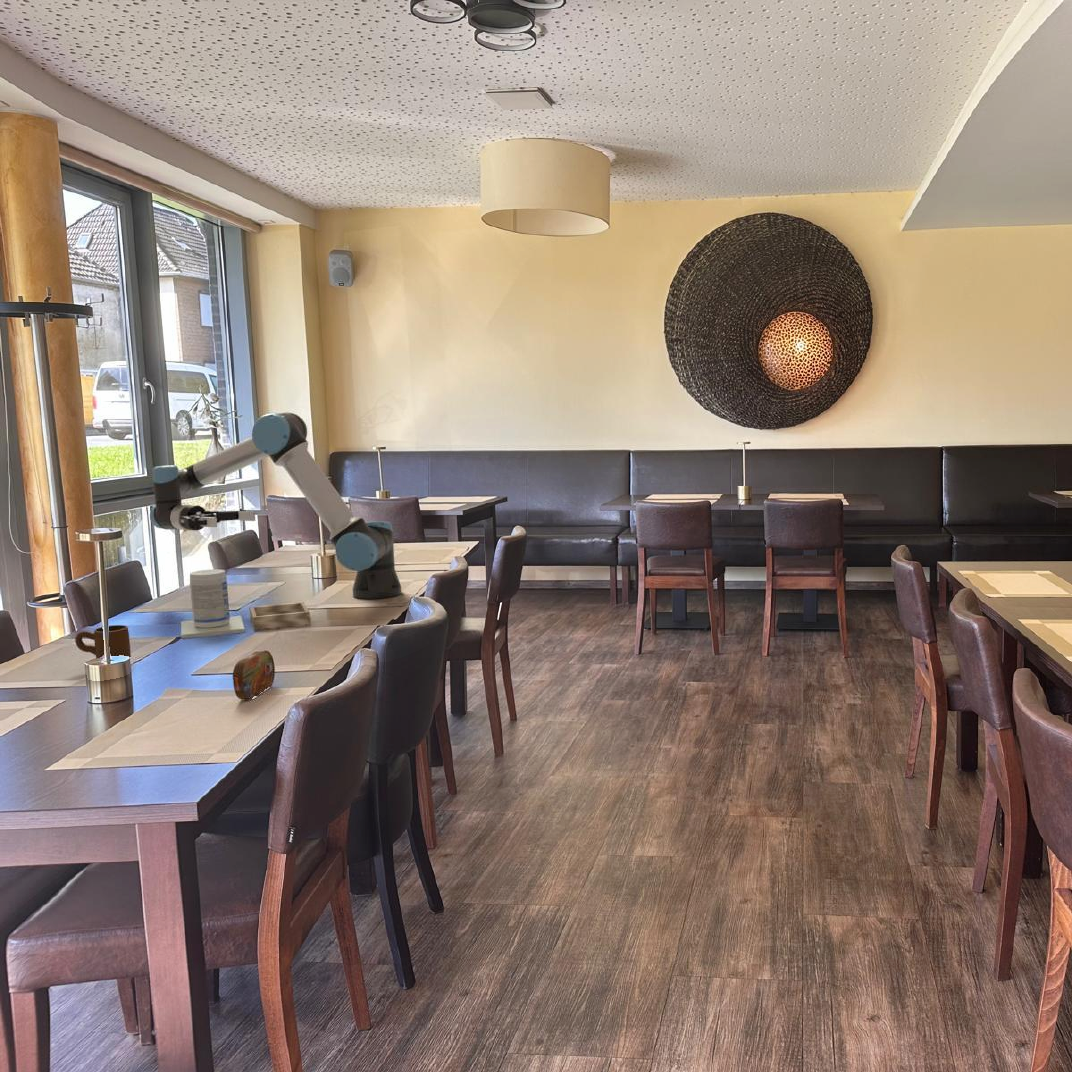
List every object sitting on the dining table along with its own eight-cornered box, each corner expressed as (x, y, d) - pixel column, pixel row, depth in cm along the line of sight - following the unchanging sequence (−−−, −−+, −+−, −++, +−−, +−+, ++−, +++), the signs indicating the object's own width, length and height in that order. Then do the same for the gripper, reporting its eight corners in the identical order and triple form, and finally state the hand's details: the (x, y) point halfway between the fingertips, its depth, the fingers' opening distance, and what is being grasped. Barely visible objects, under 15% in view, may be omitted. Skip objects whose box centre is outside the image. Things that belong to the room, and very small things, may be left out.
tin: (246, 704, 208) (243, 664, 207) (231, 704, 209) (228, 664, 207) (277, 684, 223) (274, 646, 222) (263, 683, 223) (261, 646, 222)
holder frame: (304, 614, 295) (303, 602, 295) (310, 624, 281) (309, 611, 281) (250, 619, 290) (249, 607, 290) (253, 630, 276) (252, 617, 276)
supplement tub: (234, 625, 279) (230, 571, 277) (199, 630, 273) (195, 576, 271) (223, 619, 287) (220, 567, 285) (189, 624, 281) (185, 571, 279)
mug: (72, 674, 237) (69, 634, 236) (83, 665, 244) (79, 627, 243) (126, 670, 238) (123, 631, 237) (135, 662, 246) (132, 623, 244)
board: (241, 619, 291) (241, 615, 291) (244, 632, 274) (244, 628, 274) (181, 624, 286) (181, 621, 286) (181, 638, 269) (181, 634, 269)
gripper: (225, 524, 318) (270, 526, 306) (154, 535, 298) (200, 538, 286) (222, 500, 317) (268, 501, 305) (151, 510, 297) (197, 511, 285)
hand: (235, 519), depth 295 cm, fingers open, 13 cm apart
